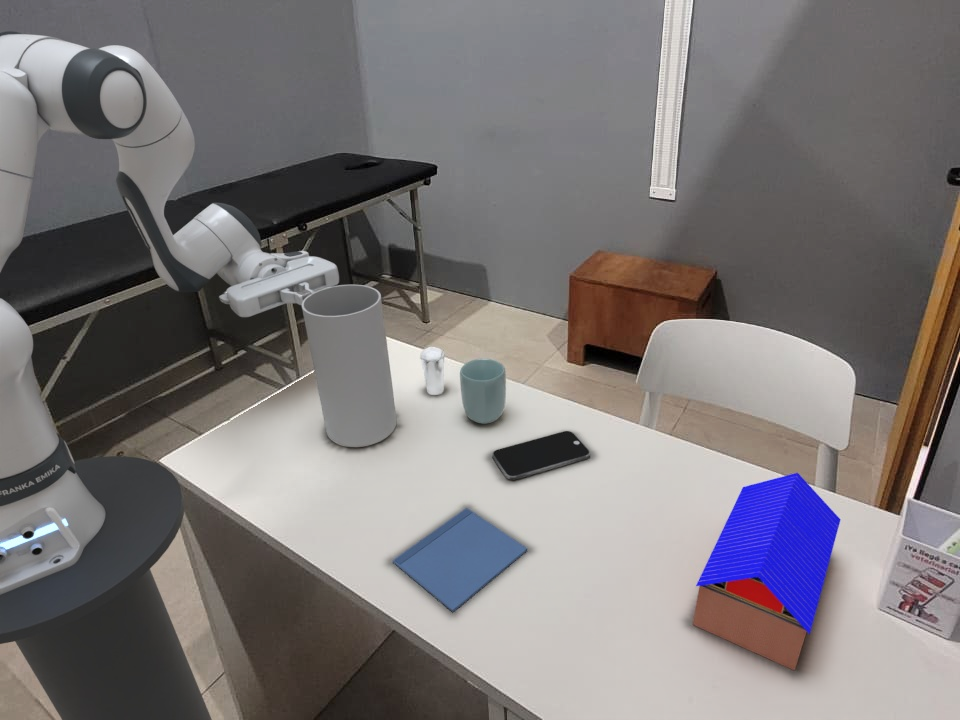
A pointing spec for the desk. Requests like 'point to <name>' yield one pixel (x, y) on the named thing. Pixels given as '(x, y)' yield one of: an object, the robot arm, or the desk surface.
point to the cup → (483, 389)
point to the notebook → (459, 558)
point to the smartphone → (540, 455)
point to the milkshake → (433, 369)
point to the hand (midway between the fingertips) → (307, 298)
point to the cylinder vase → (351, 363)
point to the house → (768, 569)
